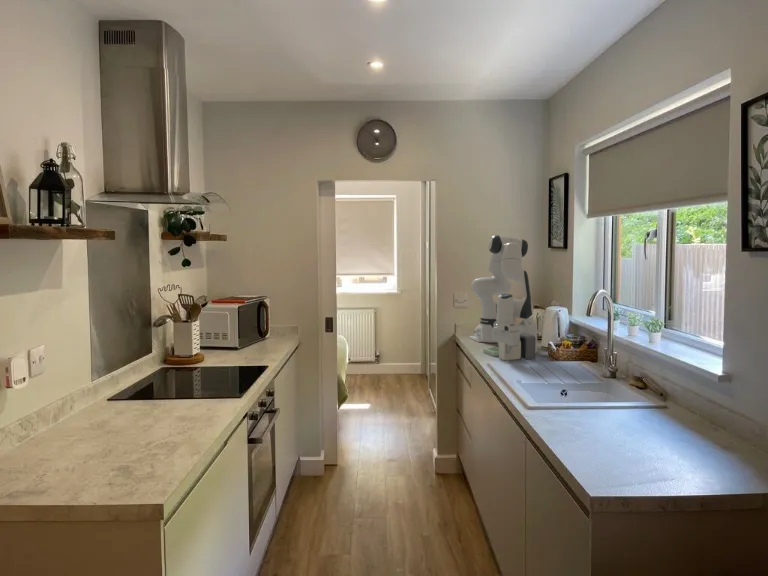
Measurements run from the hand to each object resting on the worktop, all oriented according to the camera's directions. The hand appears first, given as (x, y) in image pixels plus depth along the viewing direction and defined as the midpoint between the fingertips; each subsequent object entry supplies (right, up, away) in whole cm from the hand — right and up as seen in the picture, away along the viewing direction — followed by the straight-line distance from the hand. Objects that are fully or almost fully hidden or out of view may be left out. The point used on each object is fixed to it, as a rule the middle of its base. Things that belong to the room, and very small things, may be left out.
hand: (505, 352), depth 284 cm
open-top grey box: (+12, -3, +5) cm, 13 cm away
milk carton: (+16, -2, +18) cm, 24 cm away
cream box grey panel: (+3, -4, +1) cm, 5 cm away
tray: (+1, -2, +15) cm, 15 cm away
